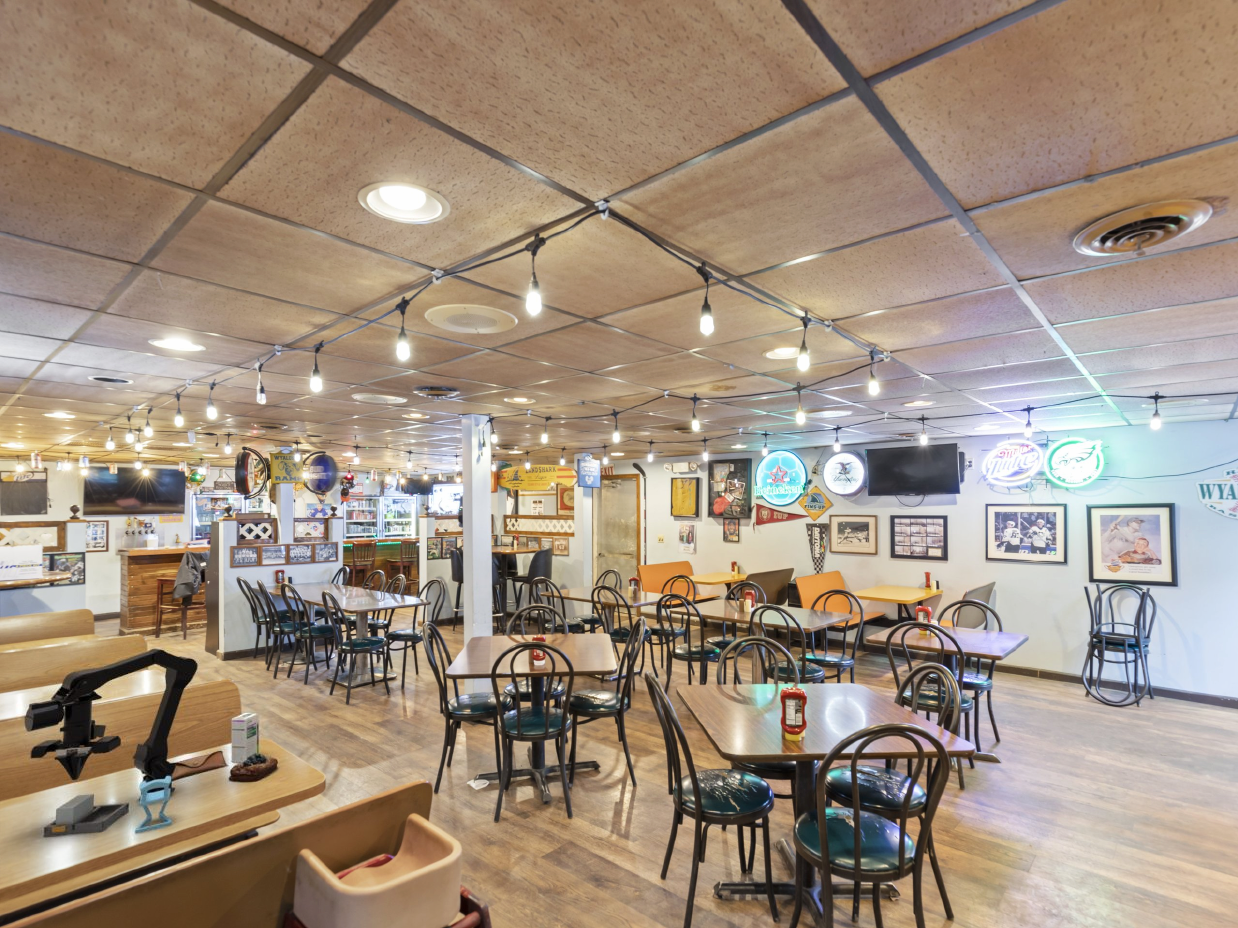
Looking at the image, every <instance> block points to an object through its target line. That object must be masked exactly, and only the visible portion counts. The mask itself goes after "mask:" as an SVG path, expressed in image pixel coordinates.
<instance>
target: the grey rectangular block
mask: <svg viewBox="0 0 1238 928" xmlns="http://www.w3.org/2000/svg"><path fill="white" fill-rule="evenodd" d="M94 806H95V794H94V793H92V794H91V793H90V794H80V795H79V794H77V795H76V796H75V797H73V798H72V799H70V800H68V801H67V802H65V803H64V804H62V805H60V806H59V807H57V808H56V809H55V820H56V825H62V824H74V823H75V822H77V821H78V820H80V819H81V818H82V817H84V816H85V815H87V814H88V813H90V812H91V811H93V810H94Z"/></svg>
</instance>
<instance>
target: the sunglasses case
mask: <svg viewBox="0 0 1238 928" xmlns="http://www.w3.org/2000/svg"><path fill="white" fill-rule="evenodd" d="M171 763H172V764H173V765H175V766H176V768H175V770H174V773H173V774H172V782H174V781H177V780H181V779H184V778H188V777H191V776H195V775H199V774H203V773H207V772H211V771H214V770H218V769H222V768H225V767H229V765H228V764H227V762H226V759H225V756H224V752H223V751H222V750H216V751H213V752H211V753H207V754H203V755H198V756H194V757H191V758H187V759H183V760H180V761H176V762H175V761H174V762H171Z"/></svg>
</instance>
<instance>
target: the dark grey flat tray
mask: <svg viewBox="0 0 1238 928" xmlns="http://www.w3.org/2000/svg"><path fill="white" fill-rule="evenodd" d="M129 808H130V803H129V802H123V803H111V804H98V805H94V810H93V811H91V812H90V813H88V814H87V815H85V816H84V817H82V818H81V819H80V820H78V821H77V822H75V823H74V824H62V825H56V819H54V820H53V821H52V822H50V823H48V824H47V825H45V826H44V827H43V838H49V837H58V836H59V837H60V836H70V835H81V834H93V833H95V834H96V833H103V832H104V831H106V829H108V828H110V826H112V825H113V824H115V823H116V822H117V821H118V820H120V819H121V818H122V817H123V816H125V815H127V814H128V813H129V810H130V809H129Z"/></svg>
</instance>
